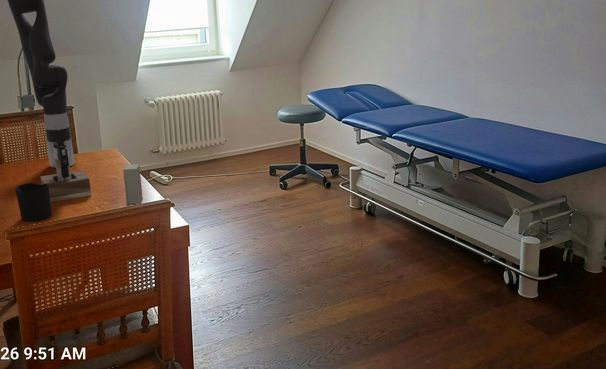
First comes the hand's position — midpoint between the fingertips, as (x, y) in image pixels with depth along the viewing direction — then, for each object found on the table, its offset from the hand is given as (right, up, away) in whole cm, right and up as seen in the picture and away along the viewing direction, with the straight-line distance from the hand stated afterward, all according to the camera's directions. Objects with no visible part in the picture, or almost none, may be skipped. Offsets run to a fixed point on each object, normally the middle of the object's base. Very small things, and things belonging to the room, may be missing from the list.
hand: (64, 174), depth 215 cm
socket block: (0, -7, +2) cm, 7 cm away
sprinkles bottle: (0, -5, +2) cm, 6 cm away
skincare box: (+26, -9, -7) cm, 29 cm away
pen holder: (-1, -14, -19) cm, 24 cm away
